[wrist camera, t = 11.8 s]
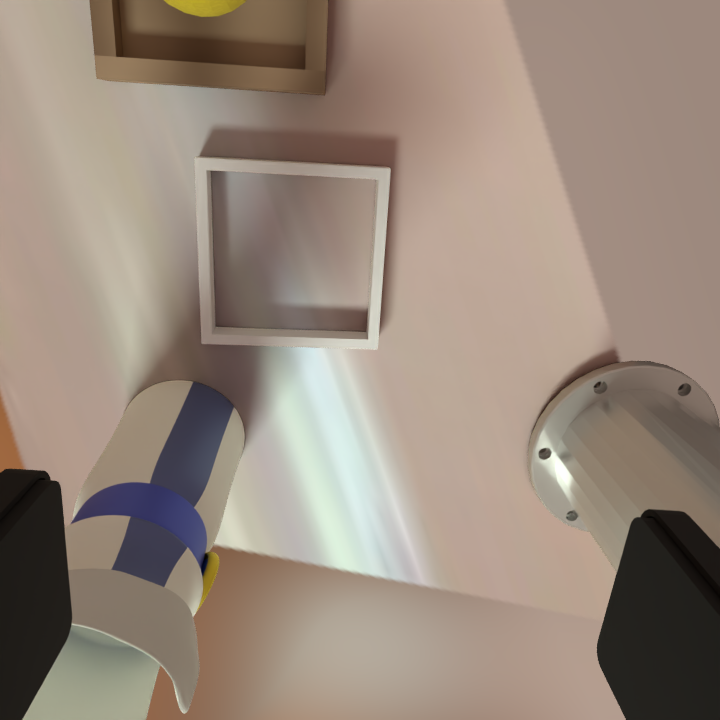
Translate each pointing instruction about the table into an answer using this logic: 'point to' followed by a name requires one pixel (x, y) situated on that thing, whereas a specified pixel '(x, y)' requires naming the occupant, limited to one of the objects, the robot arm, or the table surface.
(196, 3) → the lemon
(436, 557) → the table surface
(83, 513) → the water bottle
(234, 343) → the frame
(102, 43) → the tray
